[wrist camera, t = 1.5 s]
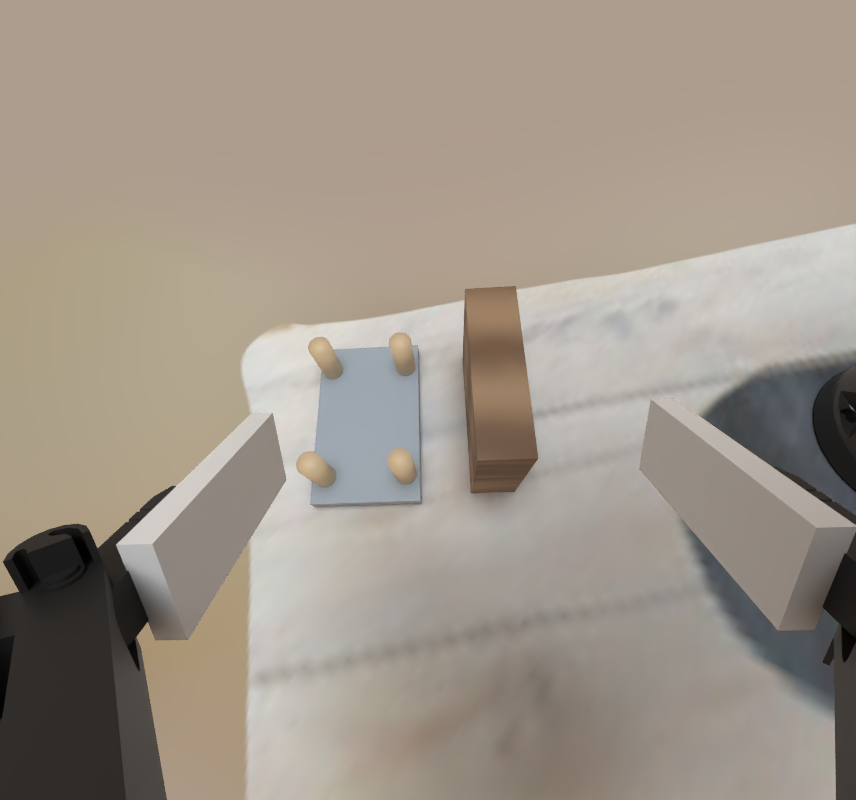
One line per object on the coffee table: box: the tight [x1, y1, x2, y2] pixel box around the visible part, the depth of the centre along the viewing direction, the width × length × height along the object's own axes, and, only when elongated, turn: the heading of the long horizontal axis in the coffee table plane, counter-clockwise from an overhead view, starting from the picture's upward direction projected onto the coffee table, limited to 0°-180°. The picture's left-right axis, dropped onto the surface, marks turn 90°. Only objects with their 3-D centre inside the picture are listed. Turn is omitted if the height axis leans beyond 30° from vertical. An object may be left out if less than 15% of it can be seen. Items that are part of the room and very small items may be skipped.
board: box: [463, 286, 538, 493], centre depth 36 cm, size 14×4×12 cm, turn 1°
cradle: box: [296, 333, 421, 507], centre depth 39 cm, size 16×10×6 cm, turn 1°
